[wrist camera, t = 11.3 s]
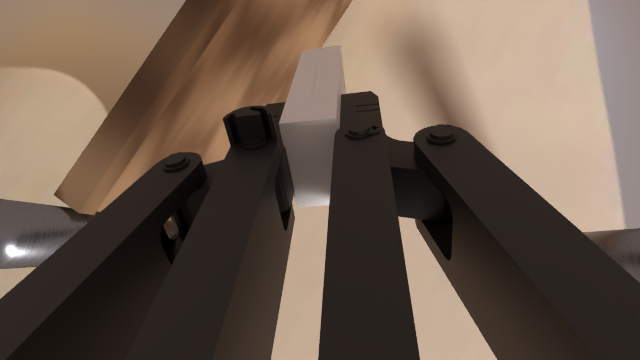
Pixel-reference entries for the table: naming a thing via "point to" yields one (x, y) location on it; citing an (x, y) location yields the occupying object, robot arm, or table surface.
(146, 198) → the robot arm
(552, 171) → the table surface
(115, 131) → the gate
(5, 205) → the gate frame
